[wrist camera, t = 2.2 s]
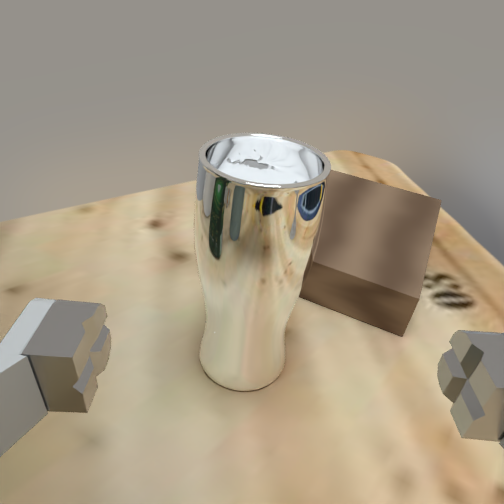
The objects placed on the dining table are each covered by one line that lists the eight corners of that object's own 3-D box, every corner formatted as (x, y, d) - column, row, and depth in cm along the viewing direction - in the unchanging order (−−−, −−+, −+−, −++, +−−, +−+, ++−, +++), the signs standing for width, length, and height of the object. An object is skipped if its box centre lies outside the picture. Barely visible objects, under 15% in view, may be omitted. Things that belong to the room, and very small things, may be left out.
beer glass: (239, 306, 33) (258, 122, 24) (309, 355, 29) (361, 161, 20) (172, 354, 28) (164, 149, 19) (245, 419, 25) (276, 205, 16)
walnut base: (205, 260, 37) (206, 223, 35) (281, 187, 51) (285, 157, 48) (402, 336, 32) (419, 299, 29) (428, 231, 45) (441, 200, 43)
